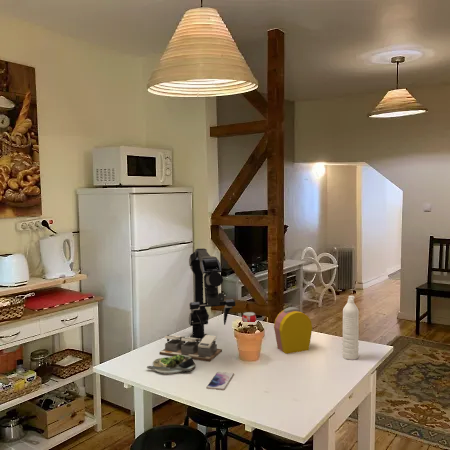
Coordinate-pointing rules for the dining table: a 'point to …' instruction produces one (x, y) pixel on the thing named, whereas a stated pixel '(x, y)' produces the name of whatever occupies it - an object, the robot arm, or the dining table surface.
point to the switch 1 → (173, 337)
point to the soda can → (249, 317)
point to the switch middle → (189, 339)
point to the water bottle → (350, 330)
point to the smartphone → (220, 381)
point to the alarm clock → (292, 330)
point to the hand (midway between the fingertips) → (213, 325)
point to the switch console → (190, 349)
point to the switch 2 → (207, 341)
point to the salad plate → (173, 364)
